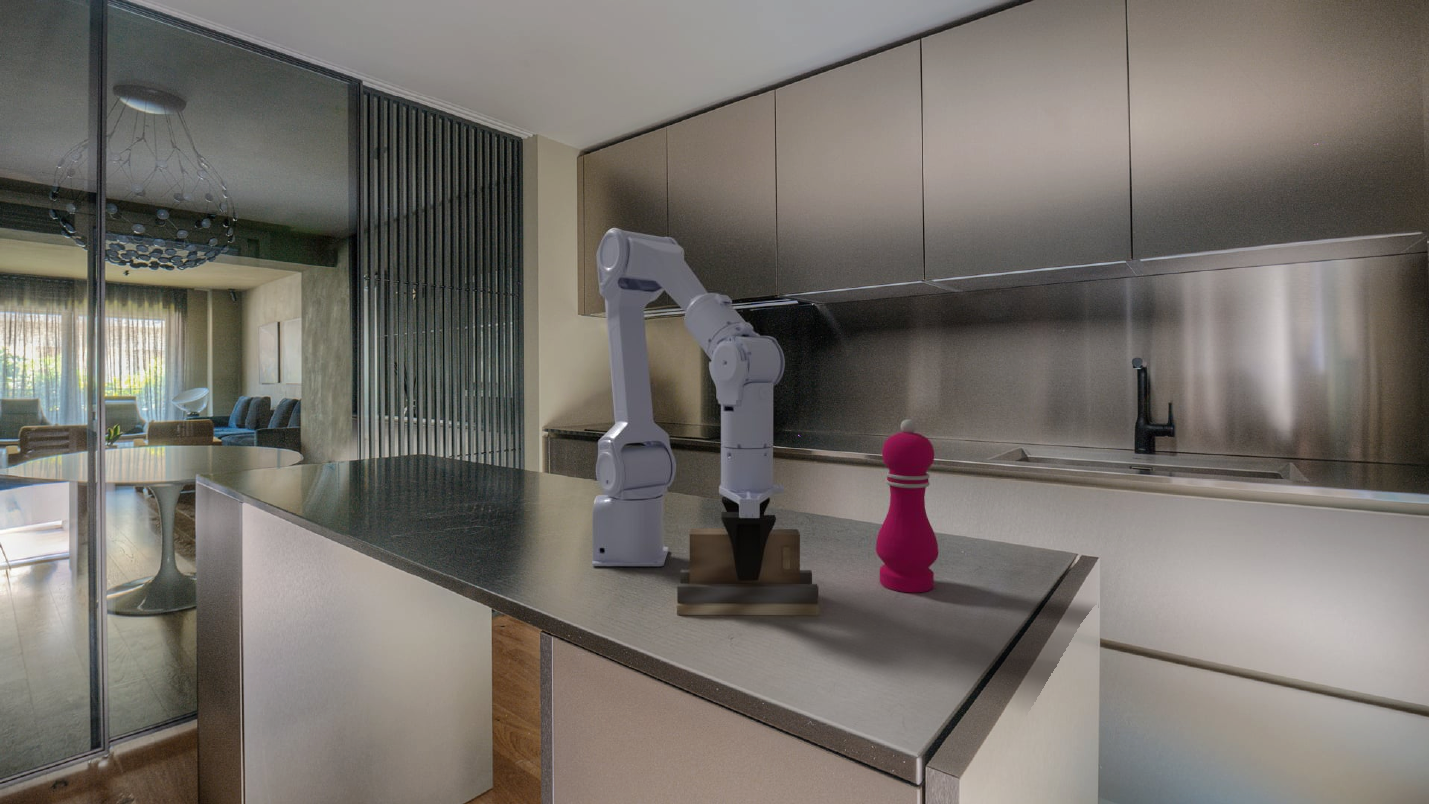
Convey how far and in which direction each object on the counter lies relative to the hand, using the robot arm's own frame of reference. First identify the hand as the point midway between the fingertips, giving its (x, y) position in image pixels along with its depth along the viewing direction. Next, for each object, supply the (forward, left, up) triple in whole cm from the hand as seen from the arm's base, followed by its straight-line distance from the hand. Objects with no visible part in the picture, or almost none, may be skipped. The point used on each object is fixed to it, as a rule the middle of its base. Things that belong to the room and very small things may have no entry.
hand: (746, 568), depth 70 cm
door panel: (0, 0, -3) cm, 3 cm away
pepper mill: (+20, +6, -4) cm, 21 cm away
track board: (0, 0, -4) cm, 4 cm away
